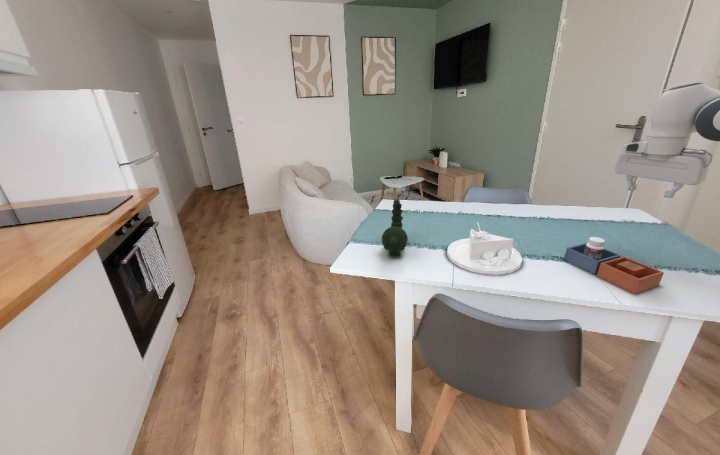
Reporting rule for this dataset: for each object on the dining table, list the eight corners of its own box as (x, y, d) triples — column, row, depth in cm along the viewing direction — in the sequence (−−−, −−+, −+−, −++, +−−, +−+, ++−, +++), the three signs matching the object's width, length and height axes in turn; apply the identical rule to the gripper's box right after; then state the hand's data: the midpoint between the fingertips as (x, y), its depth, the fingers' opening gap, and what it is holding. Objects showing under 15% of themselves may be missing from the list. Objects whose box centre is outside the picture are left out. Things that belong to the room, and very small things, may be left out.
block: (640, 281, 85) (645, 267, 84) (629, 284, 84) (634, 271, 82) (623, 273, 89) (627, 260, 88) (612, 276, 88) (617, 263, 86)
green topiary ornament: (386, 239, 125) (379, 263, 102) (385, 196, 120) (379, 211, 96) (408, 239, 124) (406, 264, 100) (408, 196, 118) (407, 212, 95)
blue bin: (616, 267, 93) (621, 255, 92) (594, 274, 91) (598, 261, 89) (585, 253, 102) (588, 242, 101) (563, 259, 100) (566, 247, 98)
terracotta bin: (658, 285, 84) (664, 272, 82) (634, 294, 81) (639, 280, 79) (619, 268, 93) (624, 256, 91) (596, 275, 90) (600, 262, 88)
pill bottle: (585, 265, 95) (592, 242, 91) (578, 258, 99) (585, 235, 96) (602, 266, 94) (609, 243, 90) (595, 259, 98) (601, 236, 95)
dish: (446, 269, 97) (448, 239, 93) (448, 238, 119) (450, 212, 115) (528, 279, 90) (534, 246, 86) (514, 243, 112) (519, 216, 108)
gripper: (722, 149, 75) (702, 200, 80) (631, 142, 93) (619, 185, 98) (707, 151, 73) (687, 204, 78) (617, 144, 91) (606, 187, 96)
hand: (649, 193), depth 88 cm, fingers open, 8 cm apart
